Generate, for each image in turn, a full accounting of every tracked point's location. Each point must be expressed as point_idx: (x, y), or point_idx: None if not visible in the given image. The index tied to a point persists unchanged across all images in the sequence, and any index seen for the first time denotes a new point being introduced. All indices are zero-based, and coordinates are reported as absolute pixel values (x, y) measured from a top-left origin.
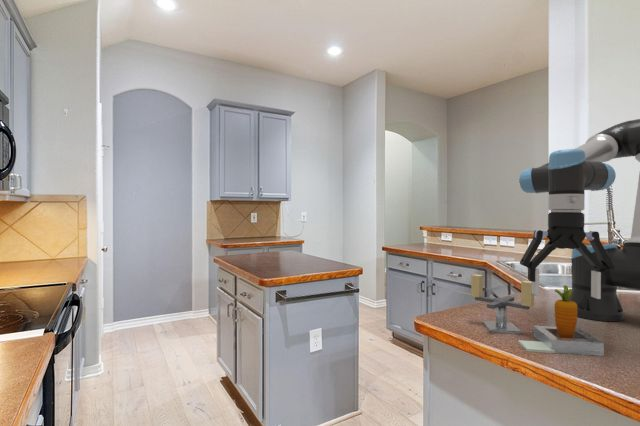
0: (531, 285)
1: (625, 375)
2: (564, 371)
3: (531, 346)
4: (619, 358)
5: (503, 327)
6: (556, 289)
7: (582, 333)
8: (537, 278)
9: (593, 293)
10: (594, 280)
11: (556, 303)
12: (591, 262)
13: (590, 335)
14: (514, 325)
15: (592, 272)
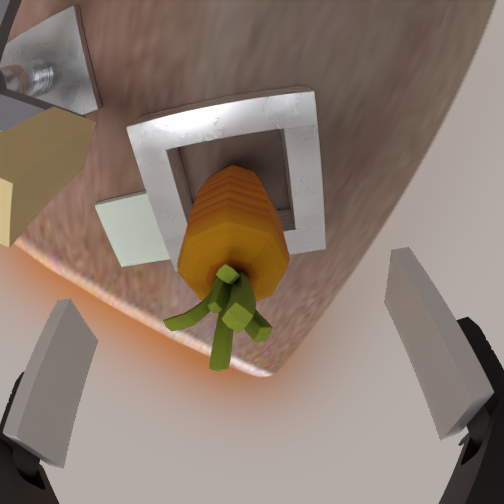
0: (19, 227)
1: (306, 316)
2: (195, 334)
3: (130, 245)
4: (351, 229)
5: (45, 95)
6: (173, 329)
7: (299, 166)
8: (67, 419)
9: (397, 289)
10: (428, 367)
11: (183, 278)
12: (448, 501)
13: (320, 181)
14: (79, 42)
15: (460, 398)
